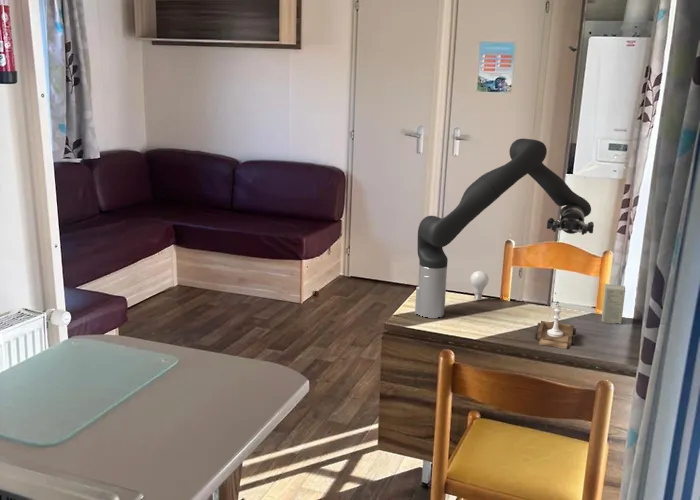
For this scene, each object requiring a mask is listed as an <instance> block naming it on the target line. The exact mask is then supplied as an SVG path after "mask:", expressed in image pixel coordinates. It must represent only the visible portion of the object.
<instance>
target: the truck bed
mask: <svg viewBox="0 0 700 500" xmlns="http://www.w3.org/2000/svg"><path fill="white" fill-rule="evenodd" d="M553 325H554V322H551V321H544V320H540V322H537V325H536V327H537V328H535V331H534V339H536V341H539V342H538V344H539V346H546V347H551V346H553V347H552V348H557V347H558V349H559V348H560V349H563V350H565V349H566V350H567V348H568V347H571V346H572V345H575V339H576V336H577V335H576V334H577V328H575V325H572V324H567V323H566V324H565V323H559V322H558V329H559V330H560V331H562V332H563V336H562V337H552V336H549V335H548V334H547V331H548V330H550V329H552V328H553Z"/></svg>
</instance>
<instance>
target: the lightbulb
mask: <svg viewBox="0 0 700 500" xmlns="http://www.w3.org/2000/svg"><path fill="white" fill-rule="evenodd" d="M469 281H470V283H471V286H472V288H473V291H474V297H473V299H474V300H476V301H478V302H479V301H481V300H482V299H483V292H484V290H485V288H486V286H487V285H488V284H489V276H488V274H487V273H486V272H485V271H483V270H476V271H474V272H472V273H471V276H470V279H469Z"/></svg>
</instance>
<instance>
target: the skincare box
mask: <svg viewBox="0 0 700 500" xmlns="http://www.w3.org/2000/svg"><path fill="white" fill-rule="evenodd" d="M625 294H626V287H625V285H619V284H617V285H616V284H610V283H609V284H608V283H605V285H604V295H603V296H604V297H603V305H602V312H601V314H602V315H601V322H602V323H609V324H615V323H619V324H618V325H622V320H623V311H624V306H625V305H624V303H625V297H626V296H625Z"/></svg>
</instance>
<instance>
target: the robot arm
mask: <svg viewBox="0 0 700 500" xmlns="http://www.w3.org/2000/svg"><path fill="white" fill-rule="evenodd" d="M508 152H509V153H508V154H509V157H510V158H511V160H510V161H508V162H506V163H505V164H503V165H501V166H499V167H496V168H494V169H491V170H490V171H488V172H486V173H485V172H484V174H482V175H480V176H479V177H478V178H477V179H475V181H473V182H472V183H471V184H470V185H469V186H468V187H467V188H466V189H465V191H464V192H463V195H462V197H461V199H460V201H459V203H458V205H456V207H455V208H454V209H453V210H451V211H450V212H449V213H448V214H447V215H445V216H444V217H442V218H441V217H439V216H436V215H427V216H425V217H424V218H422V220H421V221H420V223H419V225H418V229H417V257H418V259H419V261H418V262H419V265H418V281H417V283H418V284H417V286H416V289H415V291H416V292H415V307H414V314H415V315H416V314H418V315H417V316H419V315H420V316H419V317H422V316H423V317H422V318H425V317H428V318H427V319H439V318H438V317H440V318H443V317H444V316H445V310H446V309H445V308H446V306H445V305H446V292H447V275H448V260H449V259H448V257H447V254H446V253H445V252H444V249H443V248H444V247H446V246H448V245H449V244H450V243H451V242H453V241H454V240H455V238H456V237H458V235H459V234H460V233H461V232H462V231H463V230H464V229H465V228H466V227H467V226H468V225H469V224H470V223H471V222H472V221H474V219H476V218H477V217H478V216H479V215H480V214H481V213H482V212H484V211H485V210H486V209H487V208H488V207H489V206H491V205H492V204H493V203H494V202H496V200H498V199H499V198H500V197H501V196H502V195H503V194H504V193H505V192H507V191H508V190H509V189H510V188H512V187H513V186H514V185H515V184H516V183H517V182H518V181H519V180H521V179H522V178H523V177H525V176H526V175H529V176H530V178H532V179H533V180H534V181H535V182H536V183H537V184H538V185H539V186H540V187H541V189H543V191H544V192H545V193H546V194H547V196H549V198H550V199H551V200H552V201H553V202H554V204H555V205H557V206H559V207H562V208H561V209H559V210H560V211H559V215H560V218H559V219H557V220H555V218H553V217H549V219H547V223H546V229H547V230H550V229H551V231H553V233H556V232H557V231H559V232H560V231H561V232H562V231H563V232H564V233H567V234H570V235H572V234H573V235H575V234H576V233H578V234H579V233H581V235H586V234H587V233H589V234H593V233H594V226H595V225H594V221H589V222H588V223H585V218H586V217H588V216H589V215H590V214H591V213H592V207H591V204H590V203H589V202H588V200H586V199H585V198H584V197H582V196H580V195H579V194H577V193H575V192H574V191H573V190H572V189H571V188H570V187H569V185H568V184H567V183H566V181H564V180H563V178H561V177H560V176H559V175H558V174H557V173H555V172H554V171H553V170H551V169H550V168H549V167H548V166H546V165H545V164H544V163H543V162H544V161H545V159H546V157H547V152H548V151H547V146H546V145H545V143H544V142H542V141H540V140H537V139H531V138H518V139H516V140H514V141H513V142H512V143H511V145H510V147H509V151H508ZM443 315H444V316H443Z"/></svg>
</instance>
